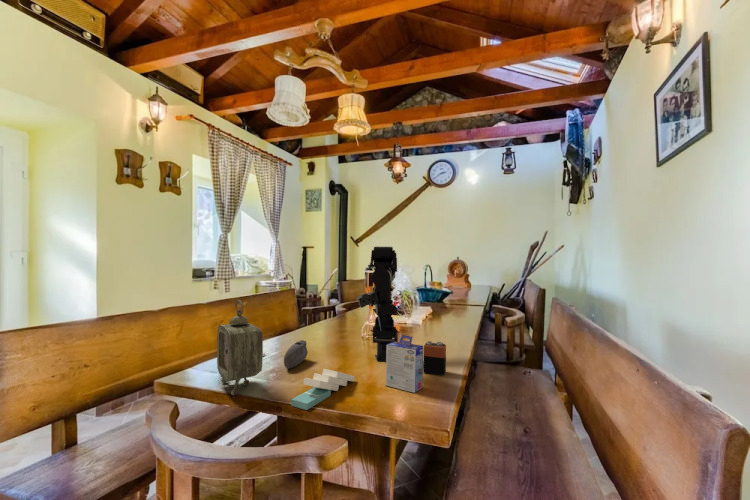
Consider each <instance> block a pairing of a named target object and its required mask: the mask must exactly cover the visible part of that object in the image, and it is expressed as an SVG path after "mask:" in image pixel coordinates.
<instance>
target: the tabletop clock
mask: <svg viewBox="0 0 750 500" xmlns="http://www.w3.org/2000/svg"><path fill="white" fill-rule="evenodd" d="M238 303H239V304H240V306H241V309H238ZM234 308H235V312H236V315H235V316H233V317H232V318H231V319H230V321H229V323H228V324H220V325H218V326H217V335H216V336H217V338H216V340H217V342H216V364H217V370H218V371H217V372H218V373H219V375H220V377H221V378H222V379H221V383H223V384H225V383H229V382H234V381H235V382H234V387H233V389H232V390H231V391H230V392H231V393H230V394H231V396H236V395H237V394H238V390H237V388H238V385H239V383H240V381H241V380H242V379H243V385H244V386H248V385H249V384H250V380H249V379H247V378H252V377H256V376H257V375H259V374H260V373H261V372H262V370H263V359H264V357H263V352H264V346H263V345H264V344H263V342H264V340H263V339H264V338H263V332H262V329H261V328H260V327H258V326H256V325H254V324H252V323H249V319H248V317H247V316H244V315H243V313H244V304H243V302H242V300H241V299H237V300H236V301H235V306H234Z"/></svg>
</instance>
